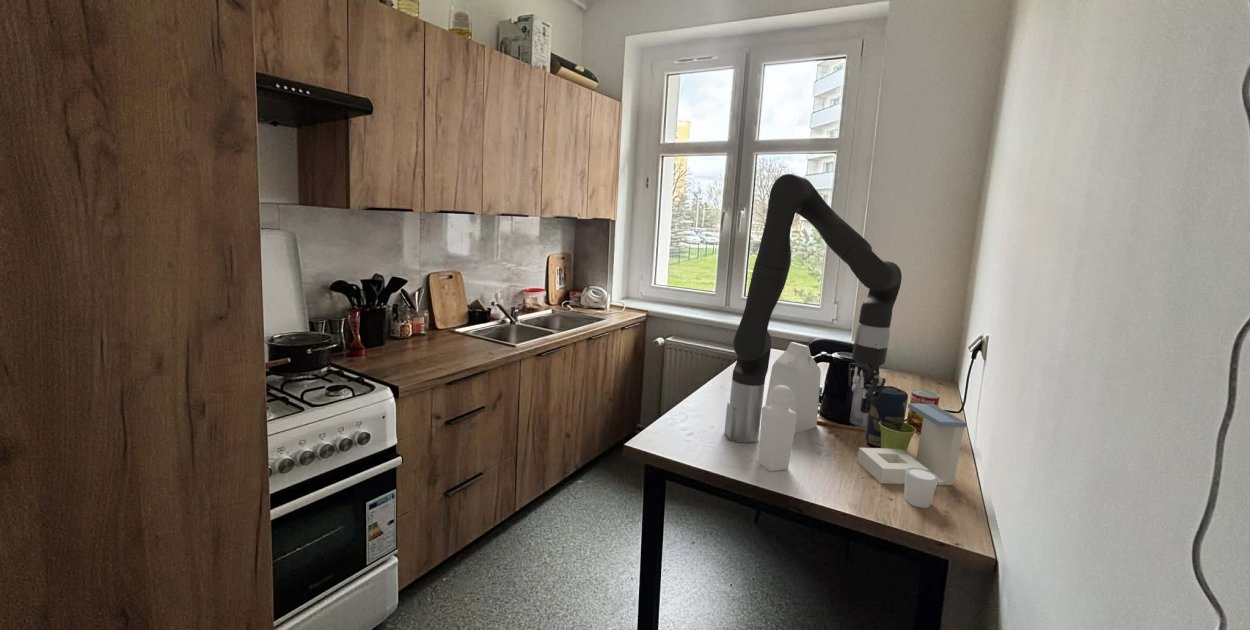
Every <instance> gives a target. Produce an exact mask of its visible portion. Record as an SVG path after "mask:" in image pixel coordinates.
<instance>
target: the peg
mask: <svg viewBox="0 0 1250 630" xmlns="http://www.w3.org/2000/svg"><path fill="white" fill-rule="evenodd" d="M866 386H871V384H866ZM868 391H869V389H867V394H868ZM862 398H863V389H862V388H861V377H860V376H857V378H856V385H855V391H854V397H853V403H852V404H851V409H850V416H849V417H850V418H849V423H851V424H852V425H855V426H859V427H867V421H868V414H869V413H862V412H861V411H860V408H861V402H862Z"/></svg>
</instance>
